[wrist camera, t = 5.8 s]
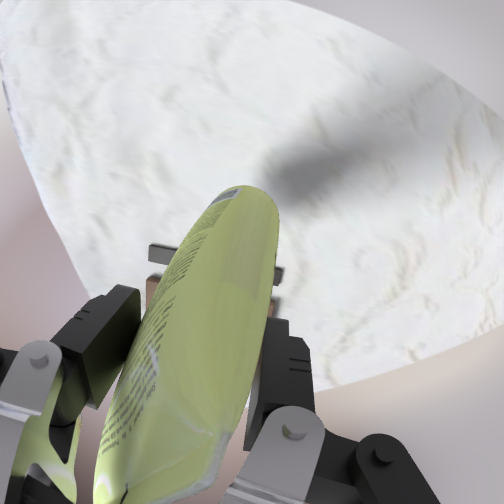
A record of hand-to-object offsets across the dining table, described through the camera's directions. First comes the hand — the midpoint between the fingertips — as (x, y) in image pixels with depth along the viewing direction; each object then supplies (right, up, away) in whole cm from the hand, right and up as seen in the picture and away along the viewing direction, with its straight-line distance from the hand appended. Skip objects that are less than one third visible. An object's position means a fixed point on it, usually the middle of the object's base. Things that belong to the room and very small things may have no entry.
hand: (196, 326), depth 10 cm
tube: (+1, +5, +12) cm, 13 cm away
